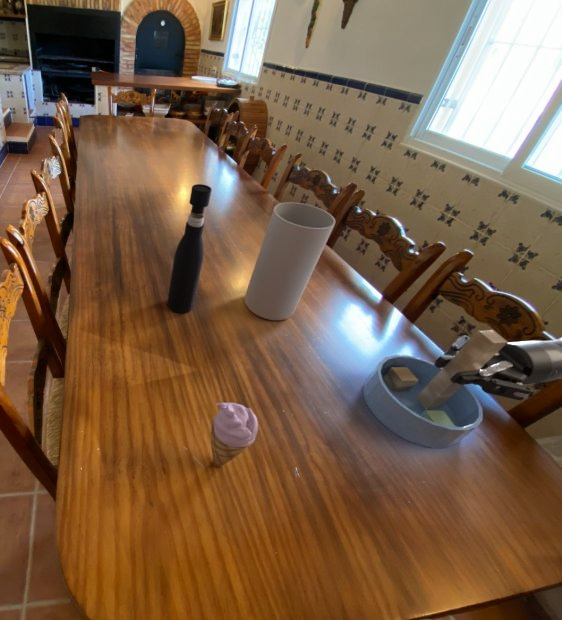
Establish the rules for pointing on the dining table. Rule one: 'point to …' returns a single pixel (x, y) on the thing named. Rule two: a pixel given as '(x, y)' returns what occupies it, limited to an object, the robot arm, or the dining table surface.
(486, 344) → the brown wooden bar
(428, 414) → the sage block
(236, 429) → the ice cream cone
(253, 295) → the cylinder vase
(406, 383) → the maple block
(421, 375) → the bowl
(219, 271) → the dining table surface
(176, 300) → the black bottle
